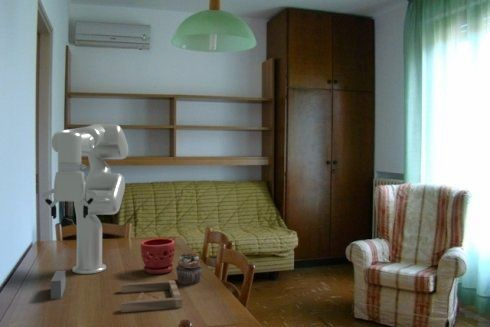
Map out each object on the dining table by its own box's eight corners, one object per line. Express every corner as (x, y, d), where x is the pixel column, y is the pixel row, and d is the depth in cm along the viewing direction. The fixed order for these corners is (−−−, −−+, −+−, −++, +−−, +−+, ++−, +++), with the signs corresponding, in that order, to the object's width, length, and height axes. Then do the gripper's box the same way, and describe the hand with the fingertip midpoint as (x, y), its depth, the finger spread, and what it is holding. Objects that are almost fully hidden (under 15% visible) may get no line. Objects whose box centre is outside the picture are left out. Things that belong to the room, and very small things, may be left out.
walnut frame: (120, 291, 149) (120, 283, 149) (174, 287, 154) (174, 280, 154) (121, 312, 130) (121, 304, 130) (182, 307, 135) (182, 299, 135)
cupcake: (207, 281, 162) (207, 254, 162) (187, 287, 155) (187, 258, 154) (190, 276, 168) (190, 250, 168) (170, 281, 161) (170, 254, 161)
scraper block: (56, 288, 152) (56, 271, 152) (65, 287, 153) (65, 270, 153) (50, 299, 140) (50, 281, 140) (60, 299, 141) (60, 280, 141)
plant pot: (156, 265, 183) (156, 236, 183) (181, 270, 176) (181, 240, 176) (133, 272, 172) (133, 242, 171) (159, 278, 165) (159, 246, 165)
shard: (142, 295, 146) (142, 290, 146) (164, 296, 146) (165, 291, 146) (133, 307, 135) (133, 301, 135) (157, 308, 135) (158, 302, 135)
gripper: (96, 167, 157) (96, 215, 157) (44, 167, 152) (44, 216, 153) (95, 168, 150) (95, 218, 150) (40, 168, 145) (40, 220, 145)
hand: (69, 217), depth 151 cm, fingers open, 9 cm apart
